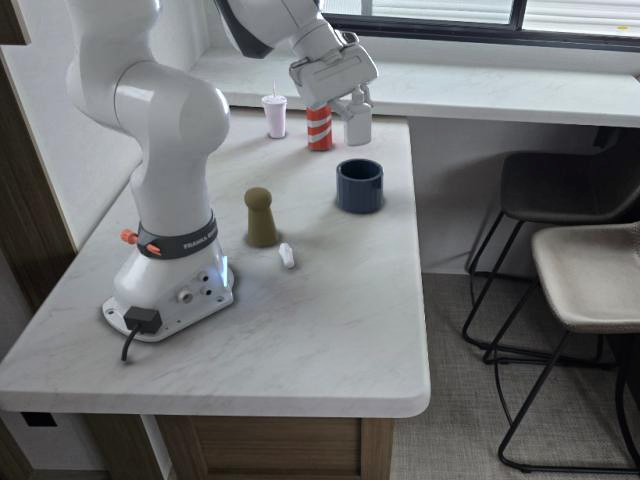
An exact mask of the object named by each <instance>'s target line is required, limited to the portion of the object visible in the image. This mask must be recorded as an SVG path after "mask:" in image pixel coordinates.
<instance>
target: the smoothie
mask: <svg viewBox="0 0 640 480" xmlns="http://www.w3.org/2000/svg"><path fill="white" fill-rule="evenodd" d="M271 86H272V87H271V88H272V94H267V95H264V96H263V97H261V105H262V106H263V110H264V113H265V119H266V122H267V127H268V131H269V136H270V137H271V138H274V139H281V138H284V137H285V133H286V132H285V130H286V111H287V104H288V101H287V97H286V96H285V95H281V94H276V86H275V80H272V81H271Z"/></svg>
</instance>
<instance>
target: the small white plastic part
mask: <svg viewBox="0 0 640 480" xmlns="http://www.w3.org/2000/svg"><path fill="white" fill-rule="evenodd" d="M278 253H279V255H280V257H281V259H282V261H283V265H284V267H285V268H286V269H291V268H293V267H294V266H295V260H294V256H293V247H290V245H289V244H288V243H287V242H282V243H280V244H279V249H278Z"/></svg>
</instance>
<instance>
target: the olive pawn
mask: <svg viewBox="0 0 640 480" xmlns="http://www.w3.org/2000/svg"><path fill="white" fill-rule="evenodd" d="M272 197H273V196H272V193H271V191H269V190H268V188H266V187H262V186H254V187H251V188H249V189H247V190H246V191H245V193H244V195H243V201H244V204H245V207H247V209H248V210H247V213H248V214H247V242H248V243H249V244H250V245H252V246H253V247H257V248H268V247H271V246H273V245H275V244H276V243H277V242H278V240H279V234H278V231H277V226H276V222H275V219H274V216H273V211H272V208H271V206H272V203H273V202H272V201H273V198H272Z"/></svg>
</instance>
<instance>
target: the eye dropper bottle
mask: <svg viewBox="0 0 640 480" xmlns="http://www.w3.org/2000/svg"><path fill="white" fill-rule="evenodd" d="M344 107H345V108H346V109H349V108H350V110H351V112H352V113H353V115H354V117H353V118H352V119H351V120H349V121H347V122H345V121H344V120H343V143H344V144H345V145H346V146H347V147H353V148H355V147H361V146H366V145H368V144H369V143H371V142H372V119H373V118H372V116H373V115H372V108H371V106H370V105H369V104H367V103H365V102H364V92H363V91H361V90H360V85H358V84H357V85H356V88H355V90H354V91H352V93H351V102H350V103H348V104H347V105H345V106H344Z"/></svg>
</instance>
